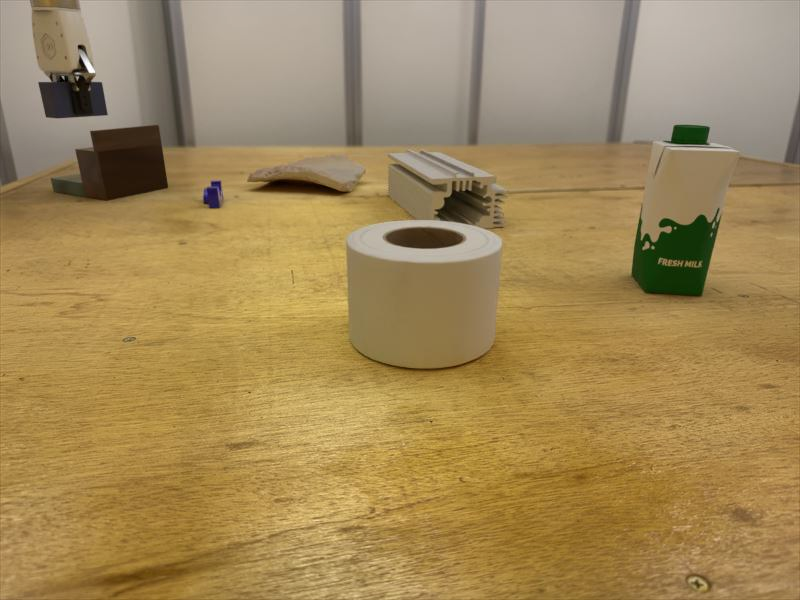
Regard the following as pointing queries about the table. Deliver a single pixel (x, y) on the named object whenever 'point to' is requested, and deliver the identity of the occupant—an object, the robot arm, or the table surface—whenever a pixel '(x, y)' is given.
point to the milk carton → (681, 211)
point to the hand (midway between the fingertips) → (77, 112)
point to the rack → (117, 165)
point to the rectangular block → (69, 99)
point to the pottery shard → (315, 172)
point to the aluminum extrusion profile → (445, 189)
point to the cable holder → (213, 194)
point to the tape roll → (423, 292)
